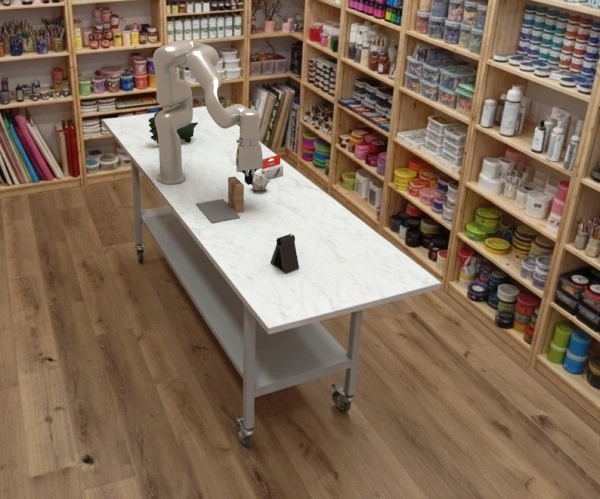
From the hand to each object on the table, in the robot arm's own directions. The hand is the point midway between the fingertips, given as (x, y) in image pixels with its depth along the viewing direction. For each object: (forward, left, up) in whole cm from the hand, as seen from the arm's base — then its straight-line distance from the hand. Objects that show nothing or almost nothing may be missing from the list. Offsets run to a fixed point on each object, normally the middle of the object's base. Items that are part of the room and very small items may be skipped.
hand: (248, 183), depth 285 cm
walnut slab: (0, -6, -10) cm, 12 cm away
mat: (0, -14, -10) cm, 17 cm away
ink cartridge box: (-22, +21, -10) cm, 32 cm away
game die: (-12, +10, -10) cm, 19 cm away
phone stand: (+49, -8, -10) cm, 51 cm away
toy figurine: (-76, -6, -10) cm, 77 cm away
